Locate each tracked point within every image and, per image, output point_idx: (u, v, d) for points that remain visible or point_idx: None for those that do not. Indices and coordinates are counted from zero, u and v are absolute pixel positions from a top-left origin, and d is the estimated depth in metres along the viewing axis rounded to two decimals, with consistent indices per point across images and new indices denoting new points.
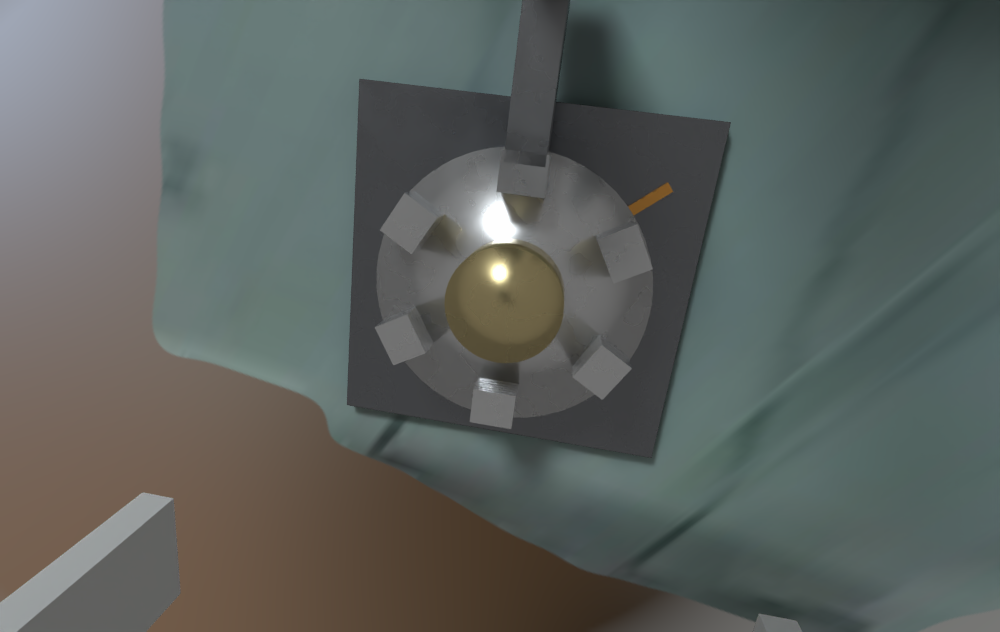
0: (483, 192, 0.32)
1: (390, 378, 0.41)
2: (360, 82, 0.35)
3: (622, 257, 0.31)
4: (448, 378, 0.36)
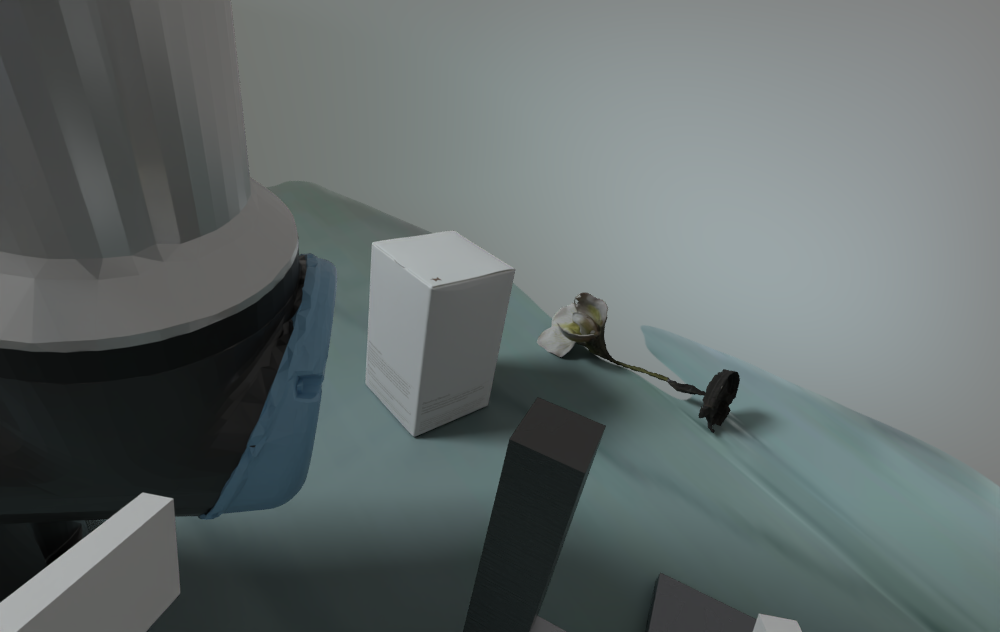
0: None
1: None
2: None
3: None
4: None
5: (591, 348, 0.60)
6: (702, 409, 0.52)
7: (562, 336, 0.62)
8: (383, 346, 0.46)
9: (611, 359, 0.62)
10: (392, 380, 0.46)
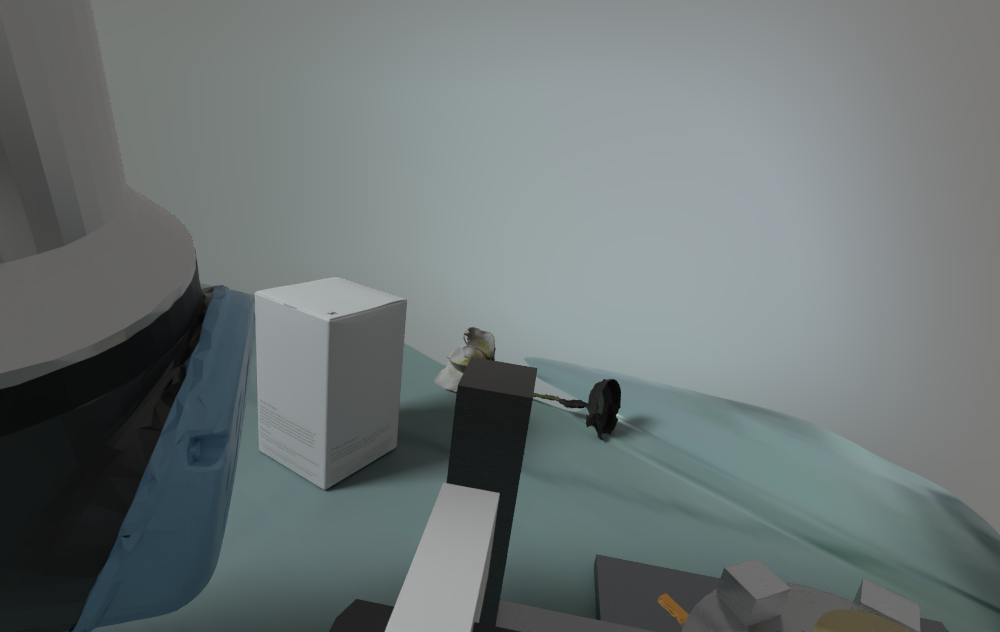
0: None
1: None
2: None
3: (761, 579, 0.31)
4: None
5: None
6: (588, 417, 0.54)
7: (456, 373, 0.64)
8: (278, 399, 0.43)
9: None
10: (292, 434, 0.43)
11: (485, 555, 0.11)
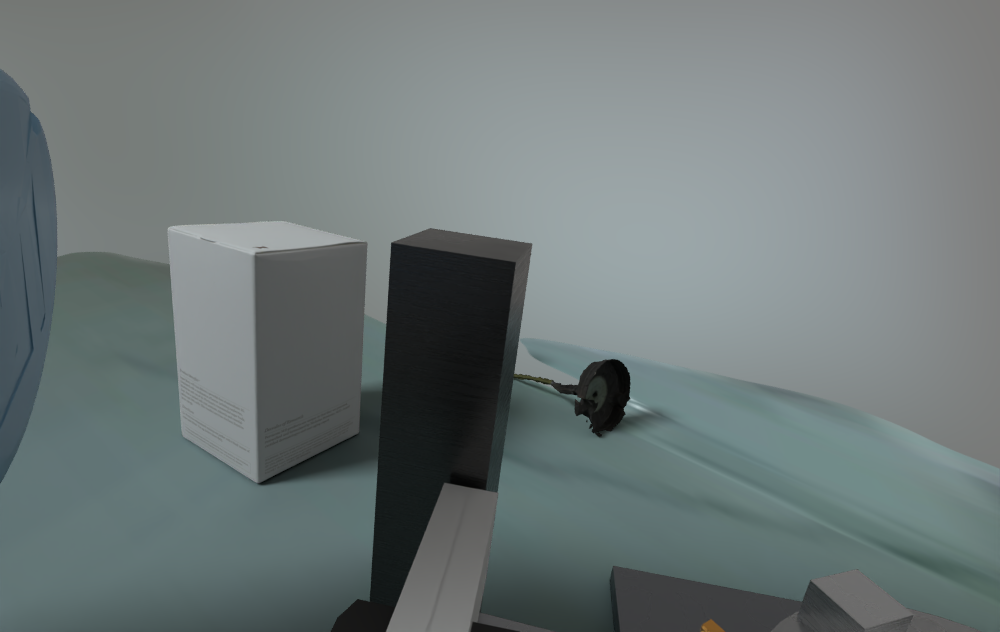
0: None
1: None
2: None
3: (867, 600, 0.21)
4: None
5: None
6: (577, 403, 0.43)
7: None
8: (199, 367, 0.34)
9: None
10: (217, 412, 0.34)
11: (483, 555, 0.11)
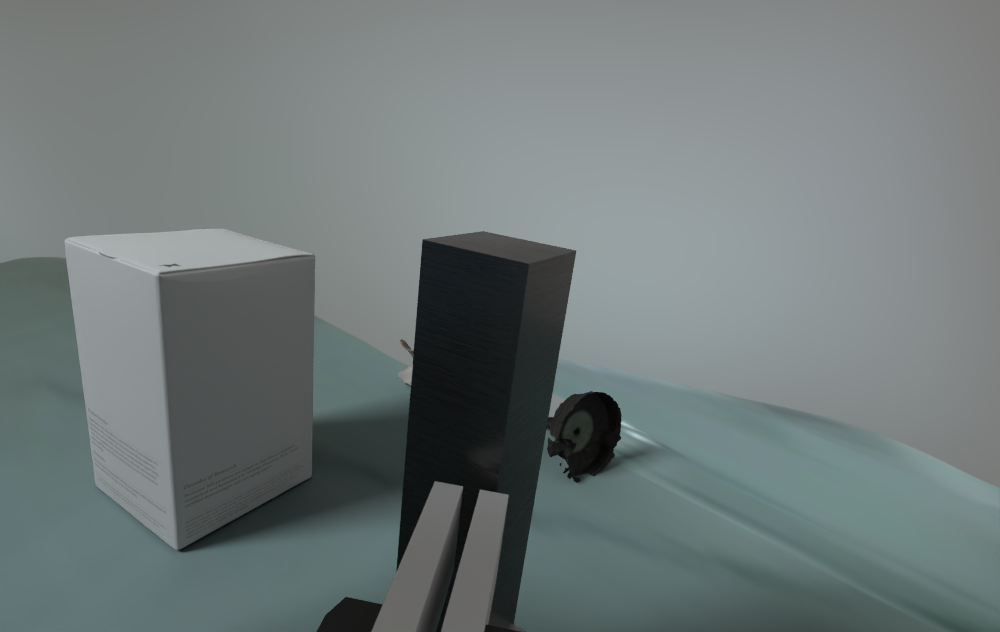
0: None
1: None
2: None
3: None
4: None
5: None
6: (550, 442, 0.37)
7: None
8: (107, 408, 0.28)
9: None
10: (129, 463, 0.28)
11: (496, 557, 0.11)
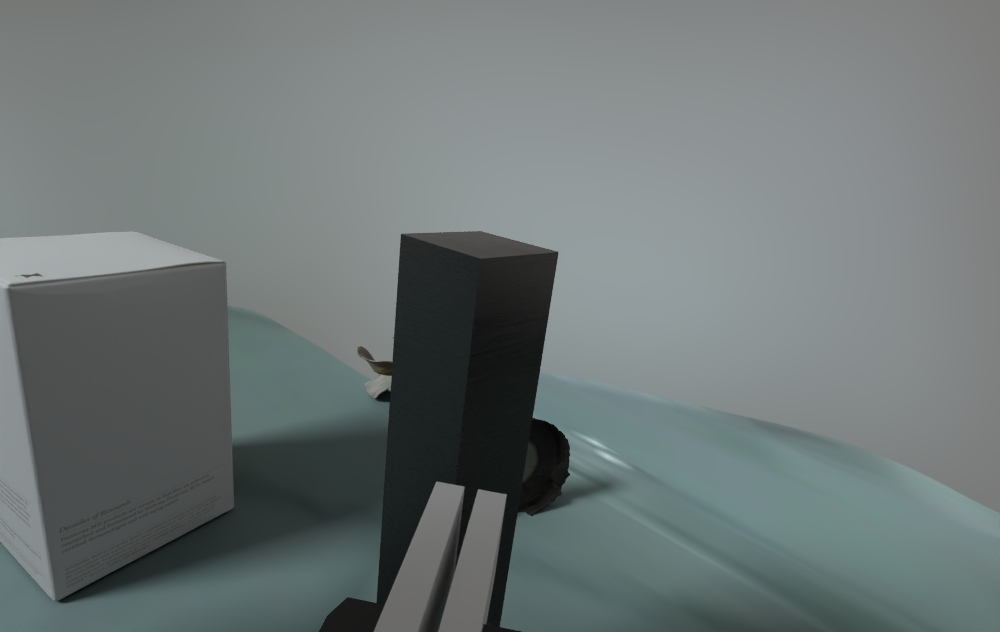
0: None
1: None
2: None
3: None
4: None
5: None
6: None
7: (391, 375, 0.47)
8: None
9: None
10: (4, 500, 0.24)
11: (493, 557, 0.11)
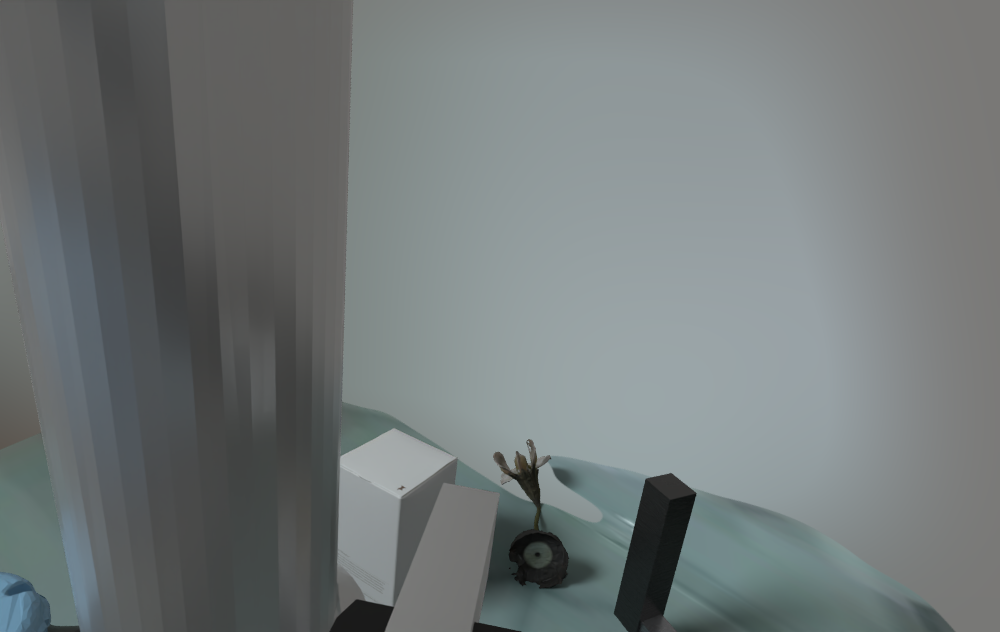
0: None
1: None
2: None
3: None
4: None
5: (522, 488, 0.72)
6: (510, 551, 0.58)
7: (517, 472, 0.75)
8: (350, 549, 0.51)
9: (537, 507, 0.70)
10: (363, 579, 0.51)
11: (485, 555, 0.11)
